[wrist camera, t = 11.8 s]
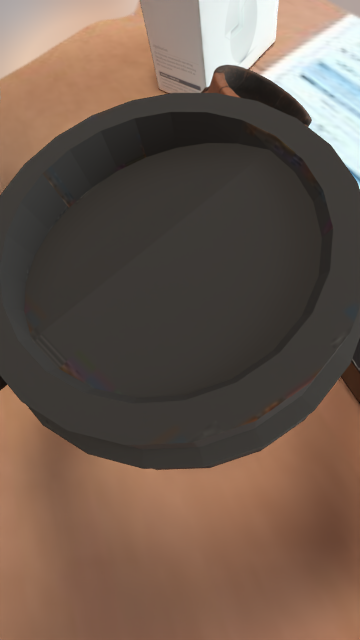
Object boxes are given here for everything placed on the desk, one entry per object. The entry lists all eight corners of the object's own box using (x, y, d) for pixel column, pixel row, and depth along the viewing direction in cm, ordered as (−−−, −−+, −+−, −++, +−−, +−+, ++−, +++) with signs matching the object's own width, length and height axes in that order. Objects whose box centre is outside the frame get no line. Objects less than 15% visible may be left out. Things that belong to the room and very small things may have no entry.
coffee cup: (119, 369, 21) (-112, 236, 7) (212, 290, 22) (181, 28, 8) (202, 478, 18) (98, 650, 4) (306, 380, 19) (536, 224, 5)
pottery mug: (165, 152, 27) (202, 37, 21) (259, 191, 29) (320, 98, 23) (141, 245, 21) (184, 119, 14) (265, 288, 23) (353, 195, 16)
